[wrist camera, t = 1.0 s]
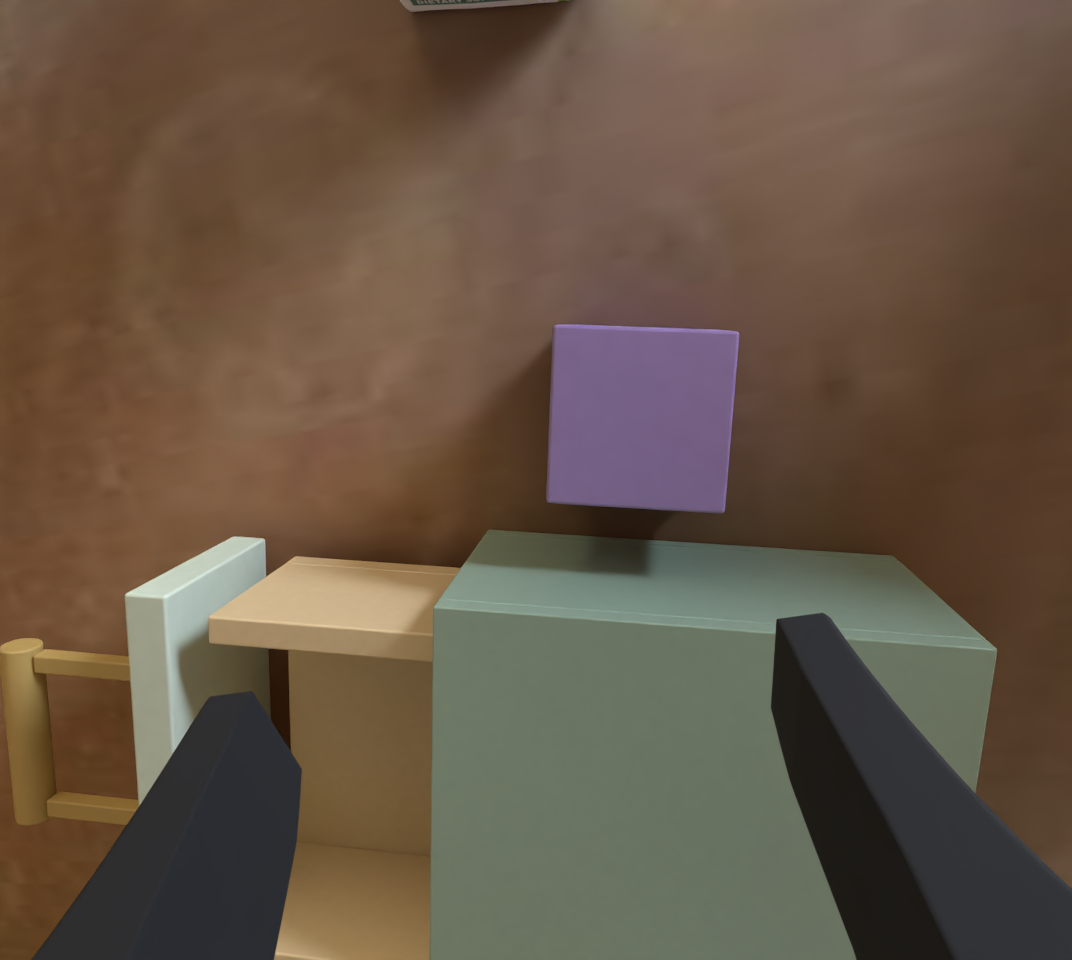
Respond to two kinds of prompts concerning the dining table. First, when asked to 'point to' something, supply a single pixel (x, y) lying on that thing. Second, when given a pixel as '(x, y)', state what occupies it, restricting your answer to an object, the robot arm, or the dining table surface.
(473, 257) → the dining table surface
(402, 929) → the drawer
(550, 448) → the block
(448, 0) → the syrup box
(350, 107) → the dining table surface
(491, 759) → the cabinet
